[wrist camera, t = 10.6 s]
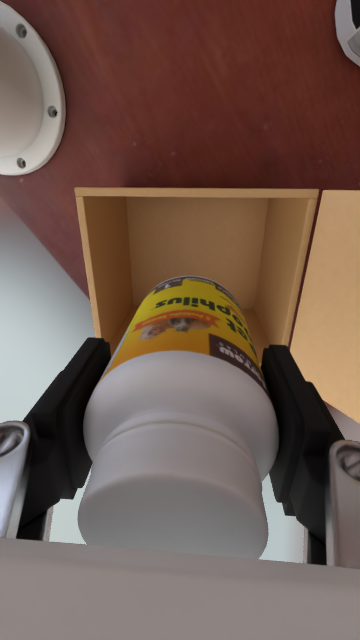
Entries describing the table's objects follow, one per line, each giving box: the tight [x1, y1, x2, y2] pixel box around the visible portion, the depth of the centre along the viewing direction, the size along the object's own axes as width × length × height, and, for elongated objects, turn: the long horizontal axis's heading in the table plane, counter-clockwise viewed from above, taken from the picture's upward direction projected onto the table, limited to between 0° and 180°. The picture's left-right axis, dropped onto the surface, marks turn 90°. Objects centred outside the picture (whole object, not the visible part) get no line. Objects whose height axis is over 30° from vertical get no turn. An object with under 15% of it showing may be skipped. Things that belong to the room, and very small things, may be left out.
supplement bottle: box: [78, 276, 279, 559], centre depth 10 cm, size 6×6×10 cm
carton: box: [74, 187, 319, 367], centre depth 25 cm, size 15×13×12 cm
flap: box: [290, 190, 360, 423], centre depth 16 cm, size 7×13×1 cm
